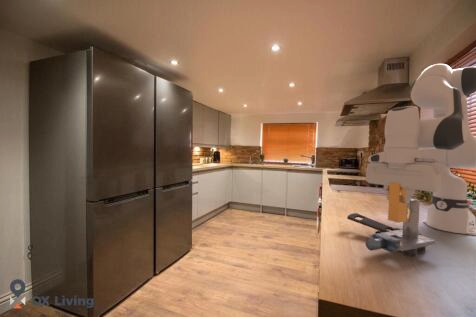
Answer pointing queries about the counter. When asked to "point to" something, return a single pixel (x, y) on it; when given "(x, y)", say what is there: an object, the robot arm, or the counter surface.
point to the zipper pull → (377, 226)
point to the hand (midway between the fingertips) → (398, 201)
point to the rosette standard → (402, 235)
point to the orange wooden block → (397, 203)
